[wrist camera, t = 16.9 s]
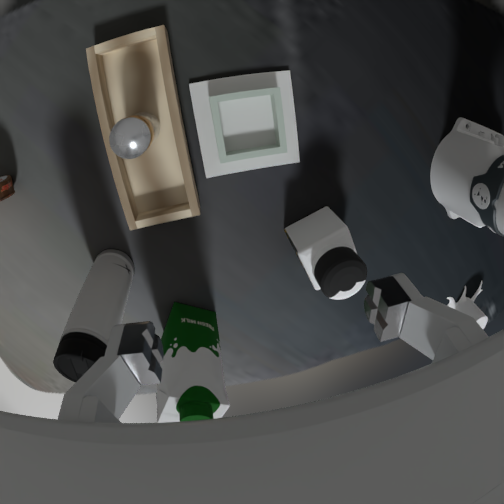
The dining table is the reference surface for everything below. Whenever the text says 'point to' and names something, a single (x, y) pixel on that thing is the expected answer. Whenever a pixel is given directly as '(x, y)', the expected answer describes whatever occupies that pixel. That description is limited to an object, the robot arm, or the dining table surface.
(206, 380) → the milk carton
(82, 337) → the travel mug
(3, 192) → the tin
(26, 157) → the dining table surface
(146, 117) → the cell
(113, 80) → the trough
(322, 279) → the medicine bottle
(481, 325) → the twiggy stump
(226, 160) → the checker cradle
